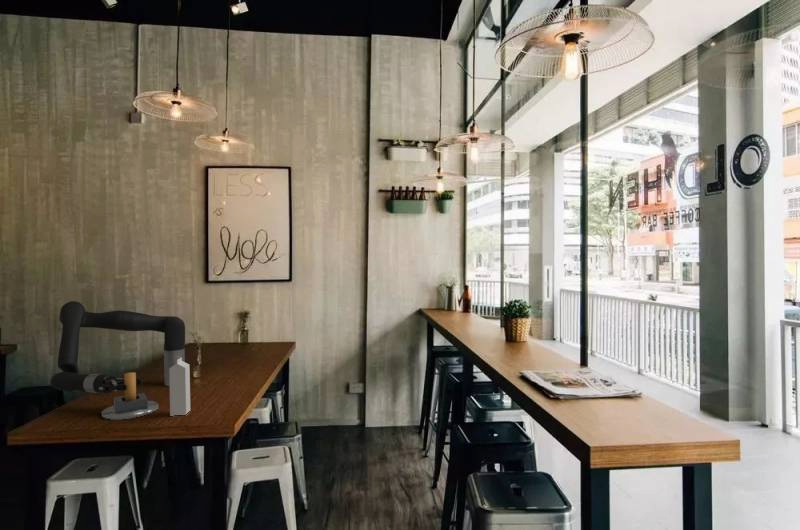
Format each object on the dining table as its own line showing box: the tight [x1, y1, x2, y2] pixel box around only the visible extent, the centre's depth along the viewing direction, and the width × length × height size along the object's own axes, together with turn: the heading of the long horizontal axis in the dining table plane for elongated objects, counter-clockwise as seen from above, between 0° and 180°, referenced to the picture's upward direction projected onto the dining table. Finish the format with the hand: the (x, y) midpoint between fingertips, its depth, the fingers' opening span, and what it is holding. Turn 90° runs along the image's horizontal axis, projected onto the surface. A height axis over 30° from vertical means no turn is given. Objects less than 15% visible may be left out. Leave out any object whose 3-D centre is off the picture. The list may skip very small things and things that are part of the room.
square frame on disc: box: [101, 392, 159, 421], centre depth 192 cm, size 20×20×6 cm
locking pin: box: [123, 371, 137, 401], centre depth 192 cm, size 4×4×14 cm
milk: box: [169, 357, 191, 417], centre depth 188 cm, size 6×6×22 cm
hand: (134, 384), depth 192 cm, fingers open, 8 cm apart
